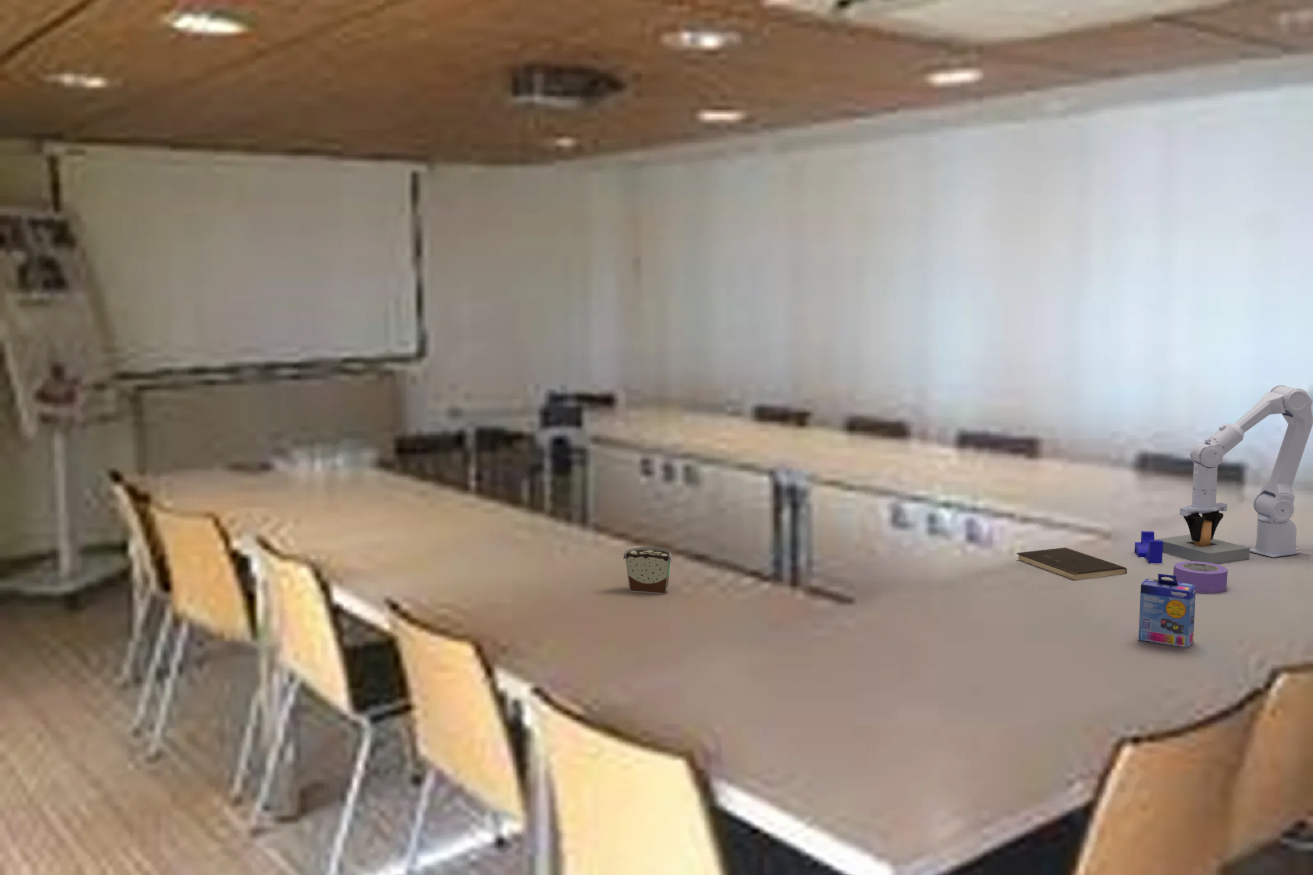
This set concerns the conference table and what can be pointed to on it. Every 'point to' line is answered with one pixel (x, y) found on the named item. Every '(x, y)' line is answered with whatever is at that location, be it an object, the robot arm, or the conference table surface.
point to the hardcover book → (1071, 563)
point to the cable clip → (1149, 547)
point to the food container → (648, 569)
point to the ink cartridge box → (1167, 611)
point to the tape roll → (1202, 576)
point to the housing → (1204, 550)
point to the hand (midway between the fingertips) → (1202, 540)
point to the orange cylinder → (1205, 534)
